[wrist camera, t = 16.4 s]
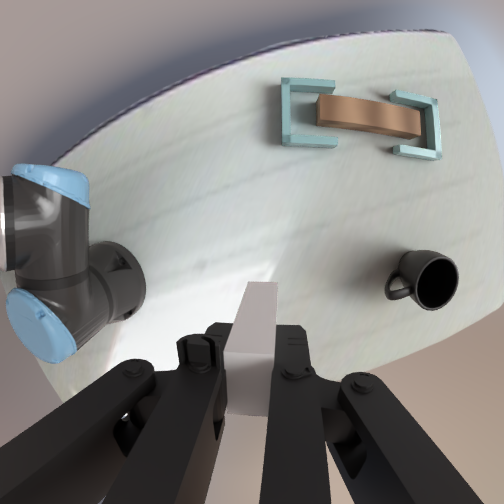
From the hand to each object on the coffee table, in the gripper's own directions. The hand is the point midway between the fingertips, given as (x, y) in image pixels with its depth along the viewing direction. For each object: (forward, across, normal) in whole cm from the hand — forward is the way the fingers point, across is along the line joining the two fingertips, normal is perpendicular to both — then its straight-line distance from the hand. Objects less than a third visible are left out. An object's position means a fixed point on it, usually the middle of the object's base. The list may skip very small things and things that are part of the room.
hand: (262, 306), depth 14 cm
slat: (+30, +14, +18) cm, 38 cm away
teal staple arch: (+29, +5, +18) cm, 35 cm away
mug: (+30, +22, -6) cm, 37 cm away
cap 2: (+29, +23, +18) cm, 41 cm away
